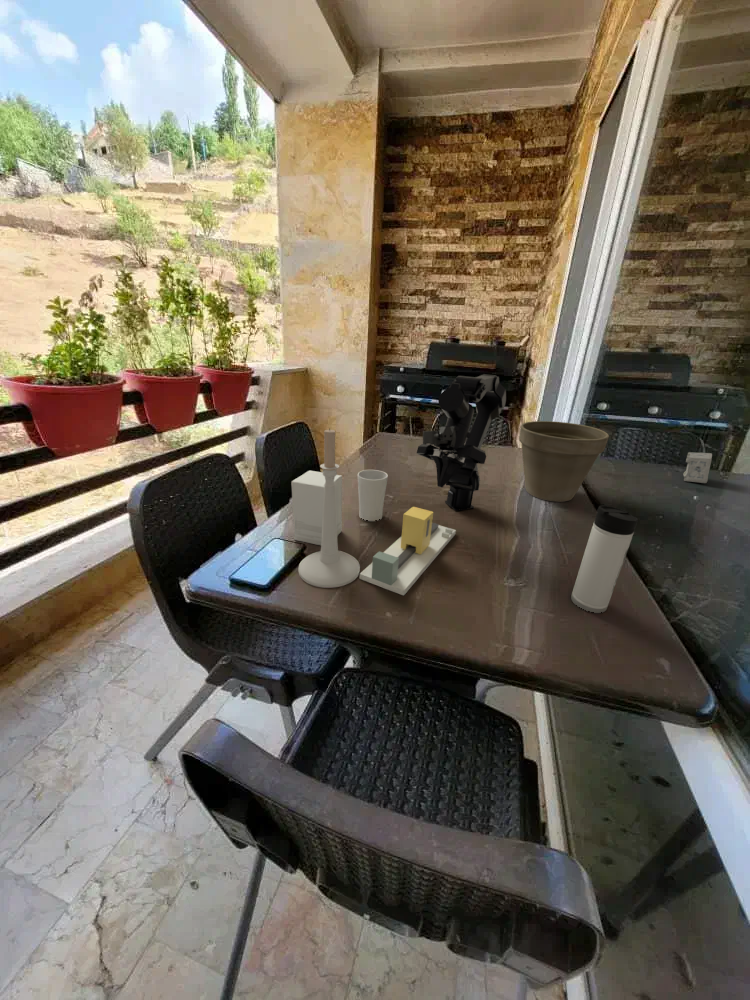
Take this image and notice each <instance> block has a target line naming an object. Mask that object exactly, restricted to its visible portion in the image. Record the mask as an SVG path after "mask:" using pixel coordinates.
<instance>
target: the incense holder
mask: <svg viewBox="0 0 750 1000" xmlns="http://www.w3.org/2000/svg"><path fill="white" fill-rule="evenodd" d="M712 457H713V453H712V452H711V453H710V452H691V451H689V452H687V455H686V459H685V463H687V464H686V470H685V471H684V472H683V473H682V474H683V481H684V482H691V483H701V484H707V482H708V478H709V472H710V469H711V463H712V459H713V458H712Z"/></svg>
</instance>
